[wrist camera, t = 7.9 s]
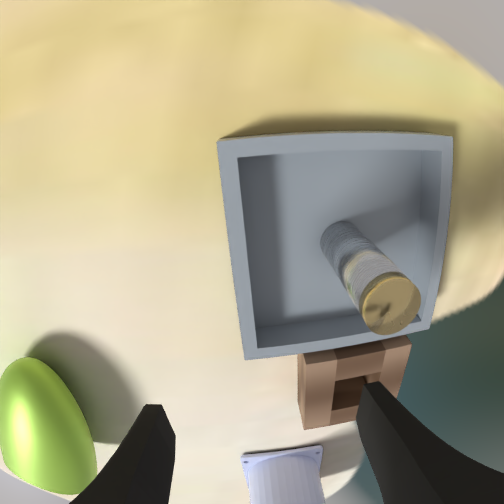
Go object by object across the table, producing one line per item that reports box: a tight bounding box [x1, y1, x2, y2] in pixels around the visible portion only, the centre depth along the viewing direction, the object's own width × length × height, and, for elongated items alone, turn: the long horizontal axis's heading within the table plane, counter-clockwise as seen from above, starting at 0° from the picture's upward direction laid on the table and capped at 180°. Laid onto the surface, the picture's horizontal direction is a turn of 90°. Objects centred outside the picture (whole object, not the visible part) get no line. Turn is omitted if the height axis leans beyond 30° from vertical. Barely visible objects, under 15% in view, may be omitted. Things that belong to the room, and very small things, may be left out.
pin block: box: [298, 334, 412, 430], centre depth 20 cm, size 7×7×3 cm
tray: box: [217, 131, 453, 360], centre depth 17 cm, size 12×12×2 cm
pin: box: [320, 221, 421, 335], centre depth 14 cm, size 2×2×7 cm
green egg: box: [0, 357, 97, 495], centre depth 20 cm, size 8×12×20 cm
